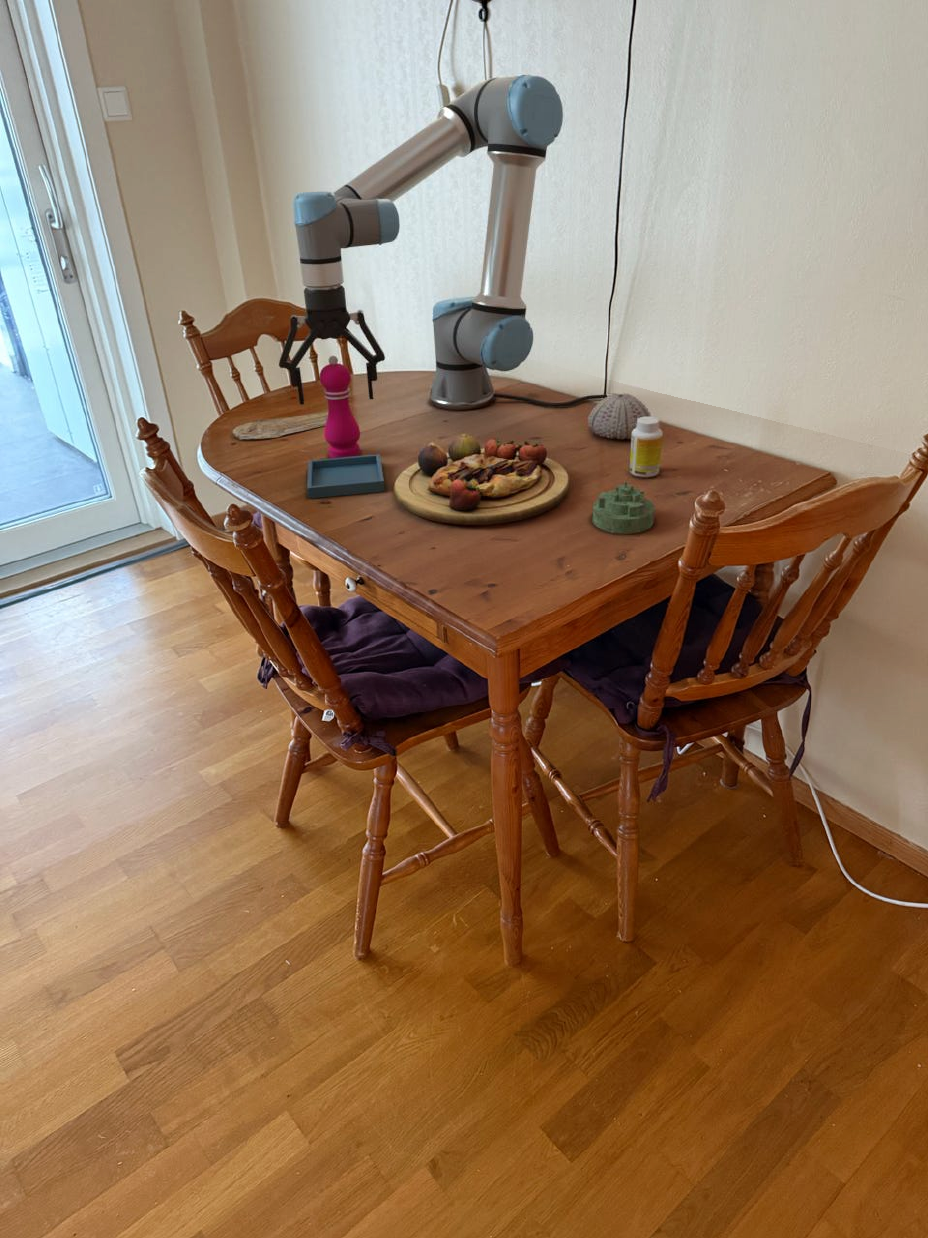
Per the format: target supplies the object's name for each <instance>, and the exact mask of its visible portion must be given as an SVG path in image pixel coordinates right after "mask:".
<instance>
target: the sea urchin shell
mask: <svg viewBox="0 0 928 1238" xmlns="http://www.w3.org/2000/svg"><path fill="white" fill-rule="evenodd" d="M611 394H612V395H609V396H608V397H606V398H602V400H601V399H600V401H599V402H598V403H596V405H595V406H594V408H592V410H591V411H590V412H589V413H588V414H589V416H588V417H587V419H588V420H587V423H588V427H589V428H590V431H592V432H593V433H594V434H596V435H599V437H604V438H608V439H618V440H625V439H627V440H631V438H632V431H633V430H634V429H635V428H636V427H637V420H638V418H641V417H652V414H651V412H650V411H649V408H647V407H646V405H645V404H643V402H642V401H641V400H639V398H637V397H636V396H633V395H632V394H629V393H611Z"/></svg>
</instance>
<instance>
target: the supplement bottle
mask: <svg viewBox="0 0 928 1238" xmlns="http://www.w3.org/2000/svg"><path fill="white" fill-rule="evenodd" d="M663 434H664V433H663V430H662V429H661V428H660V419H659V418H657V417H656V416H651V417H641V418H638V420H637V427H636V428H635V429H634V430H633V431H632V438H631V439H630V455H629V472H630V474H631V475H633V476H635V477H637V478H652V477H656V476H657V475H658V474H659V473H660V470H661V462H662V461H661V460H662V448H663V437H664V435H663Z"/></svg>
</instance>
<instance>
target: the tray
mask: <svg viewBox="0 0 928 1238" xmlns="http://www.w3.org/2000/svg"><path fill="white" fill-rule="evenodd" d="M307 463H308V464H307V465H308V466H307V484H306V485H307V486H306V487H307V488H306V489H307V494H308V496H307V497H308V499H309V500H310V499H320V498H329V497H340V496H351V495H361V494H370V493H371V494H372V493H381V492H386V488H385V479H384V472H383V466H382V459H381V454H380V453H378V454H365V455H358V456H353V457H342V458H331V457H330V458H322V459H321V458H320V459H312V460H311V459H309V460H308V462H307Z"/></svg>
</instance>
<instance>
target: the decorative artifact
mask: <svg viewBox="0 0 928 1238" xmlns="http://www.w3.org/2000/svg"><path fill="white" fill-rule="evenodd" d="M644 493H645V491H644V490H642V489H639V488H635V487H634V485H632V484H628V481H627V480H623V484H620V485H619V484H617V485H616V487H615V488H614V489H613V490H610V491H608V492H605V491H601V492H600V493H599V495H598V499H597V500H595V501H594V503H593V505H592V506H593V507H592V523H593V524H594V526H595V527H597V528H598V529H600V530H602V531H604V532H607V533H612V534H619V535H632V534H638V533H642V532H645V531H647V530H649V529H650V528H652V527H653V525H654V523H655V522H654V521H655V510H656V509H655V508H656V506H655V504H654V503H653V502H652V500H649V499H648V498H646V497H645V495H644Z"/></svg>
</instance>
